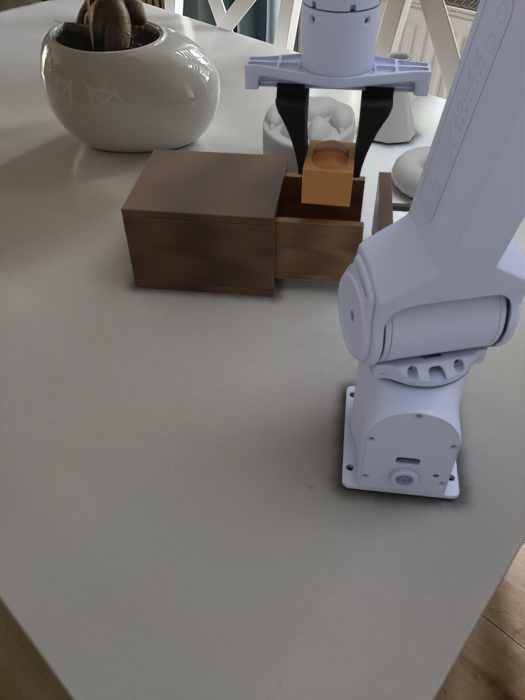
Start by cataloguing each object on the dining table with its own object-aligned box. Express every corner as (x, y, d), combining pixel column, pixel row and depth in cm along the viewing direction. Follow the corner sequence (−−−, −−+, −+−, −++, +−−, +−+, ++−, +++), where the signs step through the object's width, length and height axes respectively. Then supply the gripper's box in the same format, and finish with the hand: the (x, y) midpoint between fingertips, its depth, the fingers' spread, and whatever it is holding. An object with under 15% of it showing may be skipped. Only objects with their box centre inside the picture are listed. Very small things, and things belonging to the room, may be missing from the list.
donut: (387, 205, 71) (478, 212, 69) (391, 178, 69) (485, 184, 67) (392, 164, 78) (474, 170, 76) (395, 138, 76) (480, 143, 74)
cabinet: (286, 230, 67) (288, 155, 61) (274, 296, 59) (274, 218, 53) (164, 222, 69) (154, 148, 63) (135, 286, 60) (120, 208, 54)
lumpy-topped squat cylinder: (352, 157, 79) (358, 88, 73) (346, 211, 70) (353, 137, 64) (271, 152, 80) (271, 84, 74) (255, 204, 71) (253, 131, 65)
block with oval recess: (349, 207, 54) (354, 163, 51) (301, 203, 54) (302, 160, 51) (353, 175, 58) (357, 134, 55) (308, 172, 58) (310, 130, 55)
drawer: (424, 234, 65) (436, 174, 60) (430, 296, 57) (444, 234, 53) (264, 224, 67) (264, 165, 62) (250, 283, 59) (248, 221, 54)
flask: (416, 146, 81) (429, 67, 74) (360, 143, 82) (368, 64, 75) (415, 123, 86) (427, 47, 79) (362, 120, 87) (370, 44, 80)
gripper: (437, -11, 48) (410, 154, 57) (252, -16, 49) (255, 146, 59) (445, 16, 43) (414, 192, 52) (238, 11, 44) (244, 183, 54)
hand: (329, 171), depth 55 cm, fingers closed on block with oval recess, 4 cm apart
